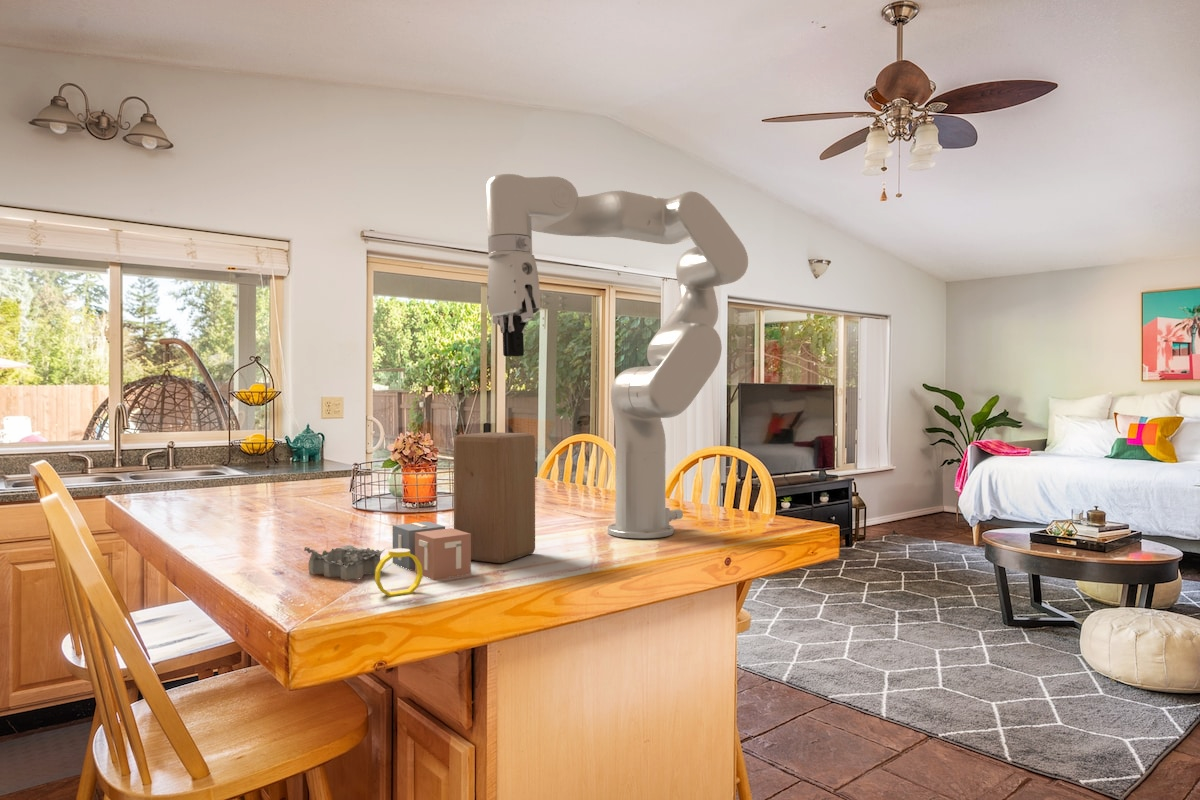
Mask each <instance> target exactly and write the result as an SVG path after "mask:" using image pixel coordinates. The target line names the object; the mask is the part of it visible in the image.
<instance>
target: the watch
mask: <svg viewBox="0 0 1200 800" xmlns="http://www.w3.org/2000/svg"><path fill="white" fill-rule="evenodd" d="M407 556H409V557H411V558H412V559H413V560H414V562H415V563H416V565H417V573H416V576H415V579H414V582H413V583H412V584H411V585H410V586H409V587H408V588H407V589H401V590H395V591H388V590H386V589H385V588H384V586H383V584H382V582H381V573H382V570H383V568H384V566H385V564H386V563H387V562H388V561H390V560H391V559H393V557H407ZM422 575H423V573H422V566H421V563H420V562H419V560H418V559H417V557H416V556H414V555H412V554H410V550H409V549H404V548H397V549H393V548H391V549H389V550H388V553H387V554H386V555H385V556H383V557H382V558H380V562H379V564H378V565H377V567H376V570H375V574H374V581H375V583H376V586H377V588H378V589H379V591H380V592H382V593H383V594H385V595H386V596H387V597H395V596H405V594H406V595H412V594H413V593H414V592H415V591H416V589H418V588H419V586H420V584H421V581H422V579H423V576H422Z"/></svg>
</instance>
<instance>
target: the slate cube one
mask: <svg viewBox="0 0 1200 800" xmlns="http://www.w3.org/2000/svg"><path fill="white" fill-rule="evenodd" d="M440 529H446V526H444V525H442V524H437V523H435V522H432V521H421V522H412V523H411V522H410V523H401V524H392V549H397V548H404V549H409V550H410V554H412V555H414V556H415V533H416V532H424V531H432V530H440ZM393 563H394V565H396V564H397V565H396V566H398V565H399V566H398V567H401V566H402V567H401V568H403V567H404V569H405V568H407V569H406V570H408V569H409V571H411V570H410V569H413V570H415V562H414V560H413V559H412V558H411V557H409V556H407V557H392V564H393Z"/></svg>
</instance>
